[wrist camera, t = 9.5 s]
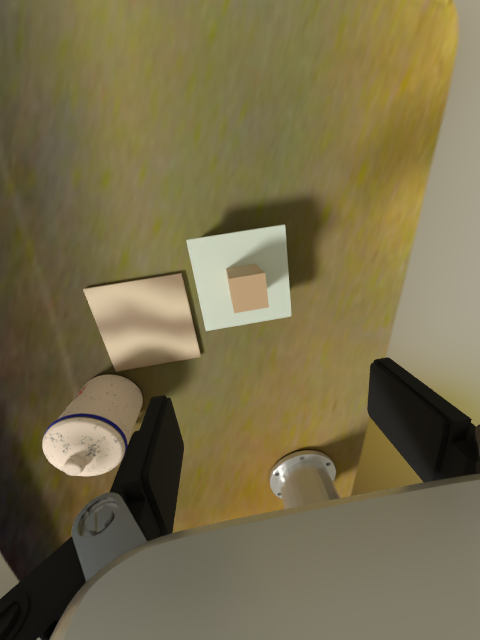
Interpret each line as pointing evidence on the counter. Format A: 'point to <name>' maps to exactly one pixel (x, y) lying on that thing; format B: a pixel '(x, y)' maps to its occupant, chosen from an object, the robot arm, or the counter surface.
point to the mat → (145, 321)
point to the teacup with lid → (94, 427)
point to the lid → (241, 276)
